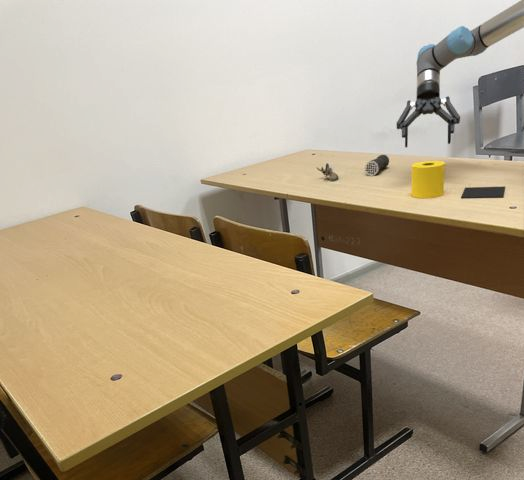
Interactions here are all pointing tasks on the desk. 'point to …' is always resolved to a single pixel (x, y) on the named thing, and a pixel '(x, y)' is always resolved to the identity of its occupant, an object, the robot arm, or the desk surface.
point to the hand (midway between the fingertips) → (427, 143)
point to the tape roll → (428, 179)
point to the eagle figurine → (329, 172)
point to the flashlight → (376, 165)
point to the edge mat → (483, 192)
